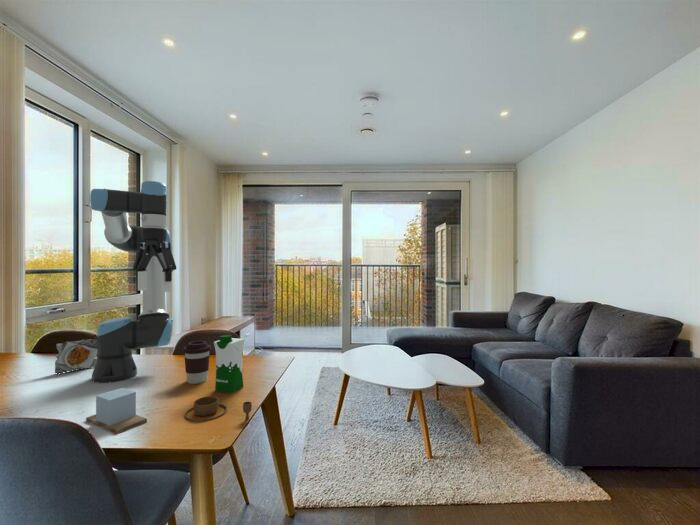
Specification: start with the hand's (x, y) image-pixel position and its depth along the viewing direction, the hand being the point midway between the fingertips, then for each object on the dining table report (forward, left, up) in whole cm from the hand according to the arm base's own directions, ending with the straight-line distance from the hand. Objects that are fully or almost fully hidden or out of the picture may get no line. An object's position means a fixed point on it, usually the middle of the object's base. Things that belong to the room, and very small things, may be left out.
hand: (154, 291), depth 117 cm
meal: (-58, +3, -37) cm, 69 cm away
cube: (+8, -16, -35) cm, 39 cm away
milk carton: (+15, +19, -37) cm, 44 cm away
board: (+8, -16, -37) cm, 41 cm away
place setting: (+29, 0, -38) cm, 48 cm away
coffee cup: (-3, +19, -37) cm, 42 cm away
